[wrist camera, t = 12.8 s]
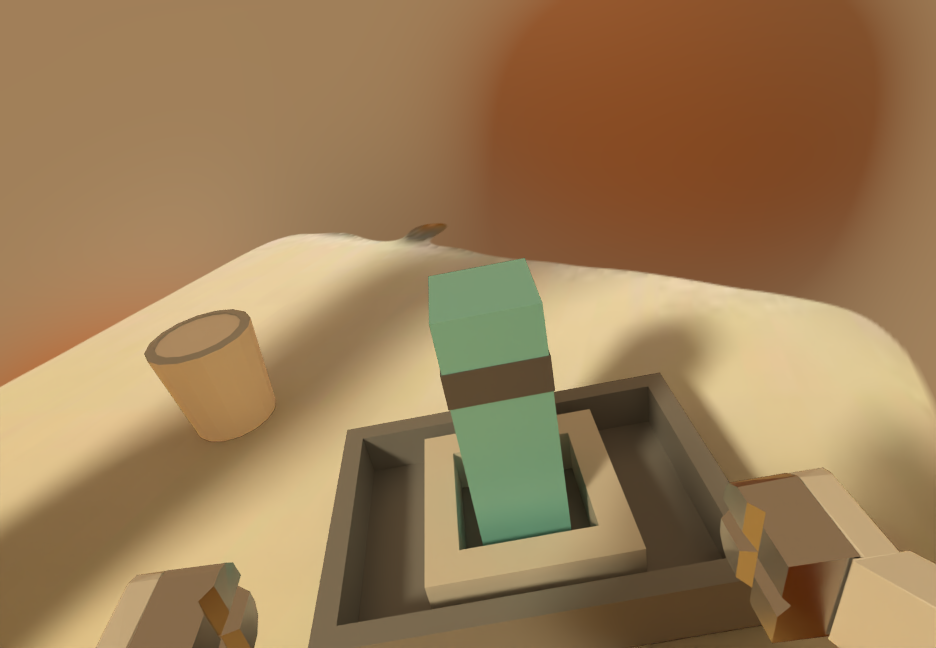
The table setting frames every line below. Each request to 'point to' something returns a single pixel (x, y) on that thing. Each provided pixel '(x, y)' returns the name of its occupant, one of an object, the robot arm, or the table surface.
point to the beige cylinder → (215, 373)
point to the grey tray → (537, 558)
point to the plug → (501, 398)
